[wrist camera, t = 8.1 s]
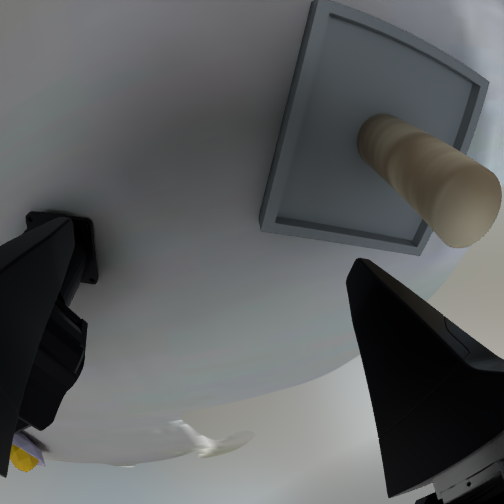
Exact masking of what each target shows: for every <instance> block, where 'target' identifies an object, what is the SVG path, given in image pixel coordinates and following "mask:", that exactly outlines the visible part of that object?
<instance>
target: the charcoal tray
mask: <svg viewBox="0 0 504 504" xmlns="http://www.w3.org/2000/svg"><path fill="white" fill-rule="evenodd" d="M488 86H489V81H488V80H486V79H485V78H484V77H482V76H481V75H479V74H478V73H476V72H475V71H473V70H472V69H471V68H469V67H468V66H466V65H464V64H463V63H461V62H460V61H458V60H457V59H455V58H453V57H452V56H450V55H449V54H447V53H445V52H444V51H442V50H440V49H438V48H437V47H435V46H433V45H431V44H430V43H428V42H426V41H424V40H422V39H420V38H418V37H416V36H414V35H413V34H411V33H409V32H407V31H404V30H402V29H400V28H398V27H396V26H394V25H392V24H390V23H387V22H385V21H383V20H381V19H378V18H376V17H373V16H371V15H369V14H366V13H364V12H361V11H358V10H356V9H353V8H350V7H348V6H345V5H342V4H339V3H336V2H333V1H330V0H314V1H312V3H311V7H310V11H309V15H308V19H307V23H306V27H305V31H304V35H303V39H302V43H301V48H300V52H299V56H298V60H297V64H296V68H295V72H294V76H293V80H292V84H291V88H290V92H289V96H288V101H287V105H286V109H285V113H284V117H283V121H282V125H281V129H280V133H279V137H278V141H277V145H276V150H275V154H274V158H273V162H272V166H271V170H270V174H269V178H268V182H267V186H266V190H265V195H264V199H263V203H262V207H261V211H260V215H259V224H260V230H261V231H262V232H269V233H276V234H282V235H289V236H296V237H303V238H309V239H316V240H323V241H329V242H336V243H342V244H348V245H355V246H361V247H367V248H374V249H380V250H386V251H392V252H398V253H404V254H410V255H416V256H420V255H421V253H422V251H423V249H424V248H425V246H426V244H427V242H428V240H429V238H430V236H431V234H432V232H433V230H432V228H431V227H430V226H429V225H428V224H427V223H426V222H425V221H424V220H423V219H422V217H421V216H420V215H419V214H418V213H417V212H416V211H415V210H414V209H413V208H412V207H411V206H410V205H409V204H408V203H407V202H406V201H405V200H404V199H403V198H402V196H401V195H400V194H399V193H398V192H397V191H396V190H395V189H394V188H393V187H392V186H390V185H389V184H388V183H387V182H386V181H385V180H384V179H383V178H382V177H381V176H380V175H379V174H378V173H377V172H376V171H375V170H374V169H373V168H372V167H371V166H369V165H368V164H367V163H366V162H365V161H364V160H363V159H362V157H361V156H360V154H359V151H358V147H357V137H358V133H359V130H360V128H361V126H362V125H363V123H364V122H365V121H366V120H367V119H369V118H370V117H372V116H374V115H377V114H382V113H386V114H390V115H393V116H395V117H397V118H399V119H401V120H403V121H405V122H407V123H409V124H411V125H413V126H415V127H417V128H419V129H421V130H423V131H425V132H427V133H429V134H430V135H432V136H434V137H436V138H438V139H440V140H441V141H443V142H445V143H447V144H448V145H450V146H452V147H453V148H455V149H457V150H458V151H460V152H462V153H463V154H465V155H466V154H467V151H468V149H469V146H470V143H471V140H472V138H473V135H474V132H475V129H476V126H477V123H478V120H479V117H480V113H481V110H482V107H483V103H484V100H485V97H486V93H487V89H488Z"/></svg>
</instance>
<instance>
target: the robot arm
mask: <svg viewBox="0 0 504 504" xmlns="http://www.w3.org/2000/svg"><path fill="white" fill-rule="evenodd" d="M30 217H31V218H32V219H31V218H30ZM26 224H27V229H26V230H25V232H24V233H23V234H22V235H20V236H18V237H16V238H14V239H12V240H11V241H9V242H7V243H5V244H3V245H1V246H0V475H1V476H3V477H5V478H6V477H7V472H8V465H9V459H10V453H11V447H12V442H13V437H14V434H16V433H18V432H20V431H22V430H24V429H26V428H28V427H30V426H33V427H34V428H36V429H38V430H39V431H42V430H44V429H45V428H46V427H48V426H49V425H50V424H52V423H53V421H54V418H55V416H56V413H57V411H58V408H59V406H60V403H61V401H62V399H63V397H64V395H65V394H66V392H67V391H68V390H69V389H70V388H71V387H72V386H73V385H74V383H75V382H76V381H77V379H78V377H79V375H80V373H81V371H82V369H83V365H84V361H85V348H86V336H87V326H88V323H87V322H86V321H84V320H83V319H80V318H79V317H78V316H77V315H76V314H75V313H74V312H73V311H72V310H71V309H69V308H68V307H69V305H70V303H71V301H72V299H73V297H74V295H75V293H76V290H77V288H78V286H79V284H80V282H82V283H88V284H96V283H97V281H98V271H97V263H96V255H95V246H94V235H93V224H92V222H91V220H90V219H87V218H80V217H72V216H67V215H64V214H55V213H46V212H41V213H37V212H29V213H28V214H27V215H26ZM85 224H87V225H88V227H87V226H85ZM92 278H93V279H92ZM346 286H347V292H348V298H349V304H350V310H351V317H352V322H353V327H354V331H355V334H356V338H357V342H358V346H359V350H360V354H361V358H362V362H363V367H364V371H365V375H366V380H367V384H368V389H369V393H370V398H371V402H372V407H373V412H374V416H375V422H376V426H377V432H378V438H379V444H380V449H381V455H382V461H383V467H384V474H385V480H386V487H387V494H388V498H391V497H394V496H398V495H400V494H404V493H407V492H410V491H412V490H415V489H418V488H420V487H423V486H426V485H428V484H430V483H433V485H434V488H435V493H432V494H430V495H428V496H425V497H423V498H421V499H419V500H416V502H415V504H504V359H502V358H500V357H498V356H497V355H495V354H494V353H492V352H491V351H490V350H489V349H487V348H486V347H484V346H483V345H482V344H480V343H479V342H478V341H476V340H475V339H474V338H472V337H471V336H470V335H468V334H467V333H466V332H464V331H463V330H462V329H460V328H459V327H458V326H456V325H455V324H454V323H453V322H451V321H450V320H449V319H448V318H446V317H445V316H443V315H442V314H441V313H440V312H439V311H437V310H436V309H435V308H433V307H432V306H431V305H430V304H428V303H427V302H426V301H424V300H423V299H422V298H420V297H419V296H418V295H417V294H415V293H414V292H413V291H411V290H410V289H409V288H407V287H406V286H405V285H403V284H402V283H401V282H399V281H398V280H396V279H395V278H394V277H392V276H391V275H390V274H388V273H387V272H386V271H384V270H383V269H381V268H380V267H379V266H377V265H376V264H374V263H373V262H372V261H370V260H369V259H363V258H358V259H356V260H355V262H354V264H353V266H352V268H351V270H350V272H349V274H348V276H347V280H346Z"/></svg>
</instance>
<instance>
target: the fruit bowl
mask: <svg viewBox="0 0 504 504" xmlns="http://www.w3.org/2000/svg"><path fill="white" fill-rule="evenodd" d="M10 459H11V461H12V463H13V464H14V466H15V467H16V468H18V469H19V470H21V471H25V472H28V471H30V470H31V469H33V468H34V467H35V466H36V465H42V466H45V463H44V459H43V456H42V452H41V450H40V449H38V448H37V447H36V446H35V445H34V444H33V443H32V442H31V441H30V440H29V439H28V438H27V437H26V436H25V435H24V434H23V433H21V432H18V433H16V434H14V437H13V442H12V447H11V453H10Z"/></svg>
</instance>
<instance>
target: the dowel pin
mask: <svg viewBox="0 0 504 504" xmlns="http://www.w3.org/2000/svg"><path fill="white" fill-rule="evenodd" d="M357 147H358V151H359V154H360V156H361V157H362V159H363V160H364V161H365V162H366V163H367V164H368V165H369V166H371V167H372V168H373V169H374V170H375V171H376V172H377V173H378V174H379V175H380V176H381V177H382V178H383V179H384V180H385V181H386V182H387V183H388V184H389V185H390V186H392V187H393V188H394V189H395V190H396V191H397V192H398V193H399V194H400V195H401V196H402V198H403V199H404V200H405V201H406V202H407V203H408V204H409V205H410V206H411V207H412V208H413V209H414V210H415V211H416V212H417V213H418V214H419V215H420V216H421V217H422V219H423V220H424V221H425V222H426V223H427V224H428V225H429V226H430V227H431V228H432V230H433V231H434V232H435V233H436V234H437V235H438V236H439V237H440V239H441V240H442V241H443V242H444V243H445V244H446V245H448V246H449V247H452V248H464V247H467V246H470V245H472V244H474V243H475V242H477V241H478V240H480V239H481V238H482V237H483V236H484V235H485V234H486V233H487V232H488V231H489V229H490V228H491V226H492V225H493V223H494V221H495V219H496V217H497V215H498V212H499V209H500V205H501V198H502V193H501V186H500V182H499V180H498V178H497V177H496V175H495V174H494V173H493V172H491V171H490V170H488V169H487V168H485V167H484V166H482V165H481V164H479V163H478V162H476V161H474V160H473V159H471V158H470V157H468V156H467V155H465V154H463V153H462V152H460V151H458V150H457V149H455V148H453V147H452V146H450V145H448V144H447V143H445V142H443V141H441V140H440V139H438V138H436V137H434V136H432V135H430V134H429V133H427V132H425V131H423V130H421V129H419V128H417V127H415V126H413V125H411V124H409V123H407V122H405V121H403V120H401V119H399V118H397V117H395V116H393V115H390V114H386V113H382V114H377V115H374V116H372V117H370V118H369V119H367V120H366V121H365V122H364V123H363V125H362V126H361V128H360V130H359V133H358V137H357Z"/></svg>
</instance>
